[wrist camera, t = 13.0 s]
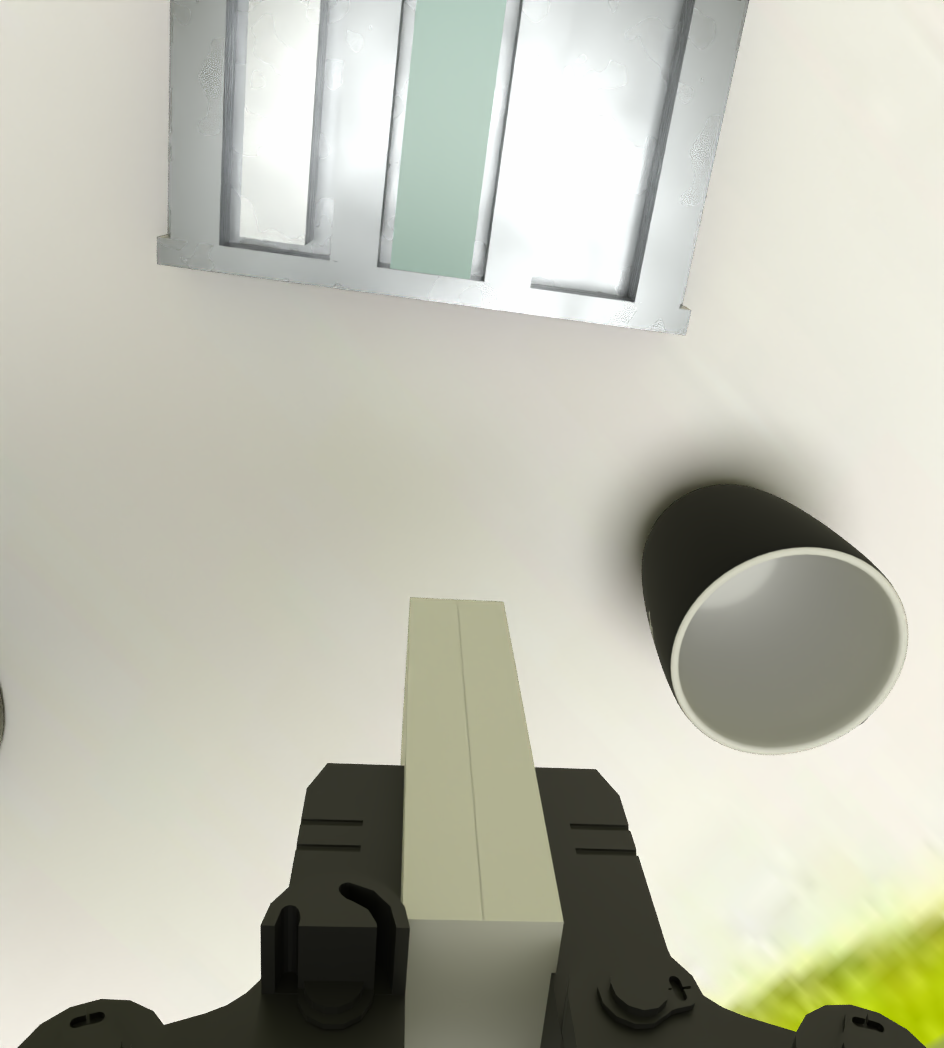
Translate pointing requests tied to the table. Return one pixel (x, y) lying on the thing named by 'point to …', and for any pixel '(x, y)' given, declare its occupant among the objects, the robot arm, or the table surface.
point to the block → (446, 134)
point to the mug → (768, 621)
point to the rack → (511, 160)
